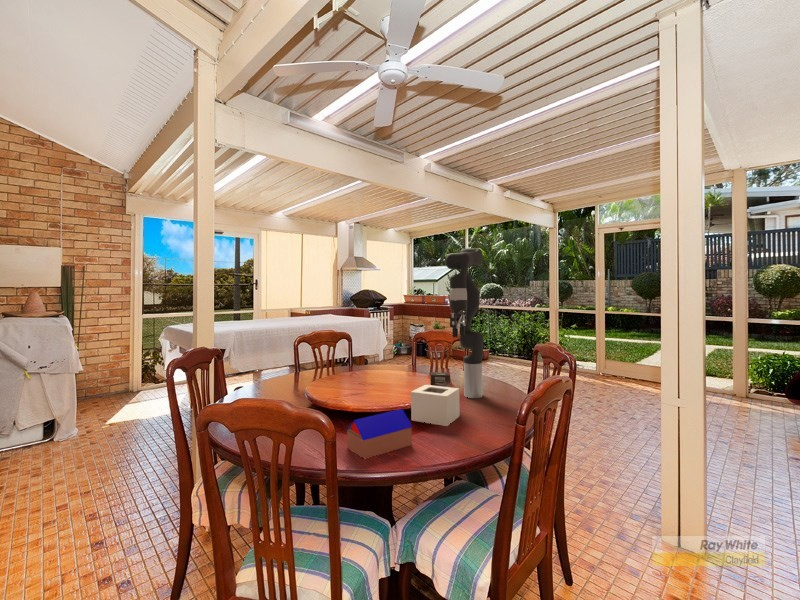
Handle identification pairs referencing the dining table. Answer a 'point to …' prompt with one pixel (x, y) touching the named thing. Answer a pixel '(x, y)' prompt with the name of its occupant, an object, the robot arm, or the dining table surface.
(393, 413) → the house
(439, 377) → the coffee box
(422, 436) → the dining table surface
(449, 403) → the slot box
